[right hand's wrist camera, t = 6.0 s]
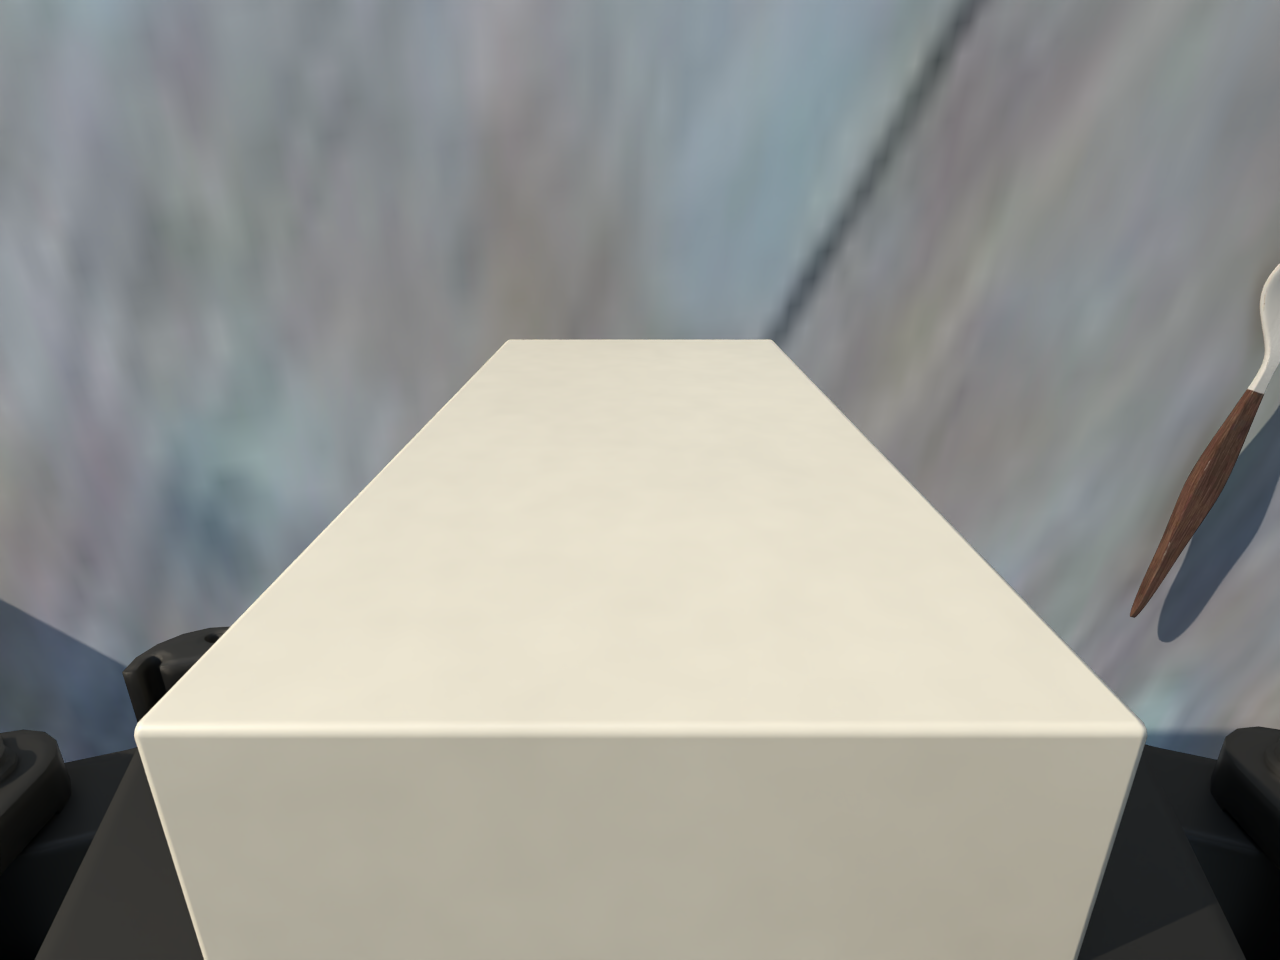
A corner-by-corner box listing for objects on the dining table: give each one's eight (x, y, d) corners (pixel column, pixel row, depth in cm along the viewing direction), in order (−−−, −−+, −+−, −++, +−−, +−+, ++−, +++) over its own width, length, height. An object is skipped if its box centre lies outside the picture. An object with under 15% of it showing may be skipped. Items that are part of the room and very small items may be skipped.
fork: (1092, 603, 28) (1125, 631, 26) (1320, 170, 22) (1383, 166, 21) (1153, 616, 28) (1190, 645, 26) (1395, 190, 23) (1462, 189, 21)
